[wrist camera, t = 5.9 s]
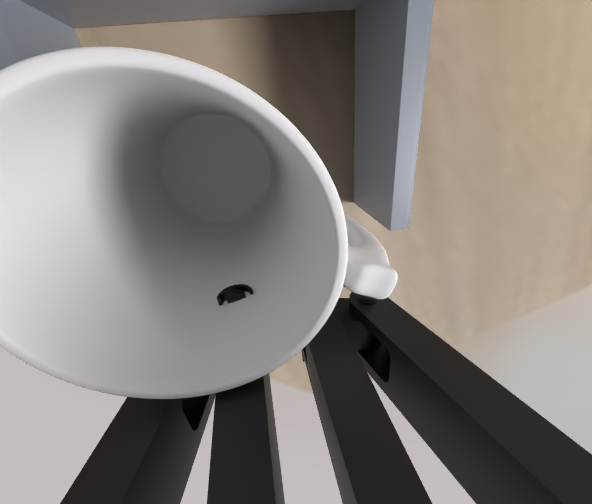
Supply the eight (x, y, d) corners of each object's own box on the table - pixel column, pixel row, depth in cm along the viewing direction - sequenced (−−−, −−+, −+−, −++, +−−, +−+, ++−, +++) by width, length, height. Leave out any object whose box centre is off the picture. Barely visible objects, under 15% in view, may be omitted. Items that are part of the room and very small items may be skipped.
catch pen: (35, -1, 11) (-94, -74, 7) (374, -19, 13) (443, -85, 9) (136, 237, 16) (99, 282, 12) (367, 200, 18) (408, 228, 14)
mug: (149, 208, 16) (-45, 392, 5) (162, 80, 13) (-161, -76, 3) (307, 244, 19) (394, 409, 8) (343, 145, 16) (538, 194, 6)
